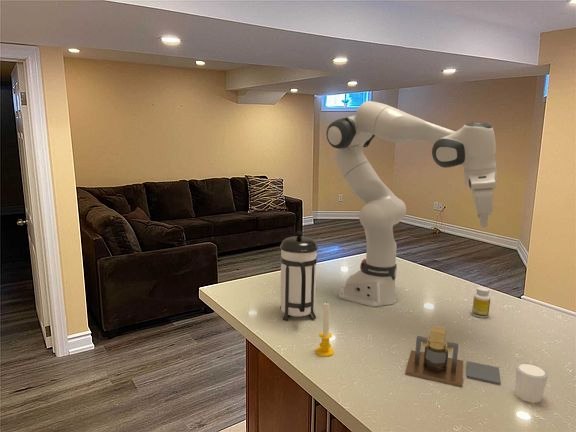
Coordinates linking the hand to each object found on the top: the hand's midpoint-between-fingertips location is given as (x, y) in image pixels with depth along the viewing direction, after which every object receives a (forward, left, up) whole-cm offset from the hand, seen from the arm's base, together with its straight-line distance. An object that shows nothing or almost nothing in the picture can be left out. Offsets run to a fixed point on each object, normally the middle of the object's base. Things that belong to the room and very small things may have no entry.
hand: (482, 221), depth 129 cm
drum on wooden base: (-9, -28, -37) cm, 47 cm away
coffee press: (-55, -12, -37) cm, 67 cm away
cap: (-9, -28, -31) cm, 42 cm away
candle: (-39, -32, -37) cm, 62 cm away
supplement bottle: (+3, +16, -37) cm, 40 cm away
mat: (+3, -25, -37) cm, 44 cm away
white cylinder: (+13, -31, -37) cm, 50 cm away
